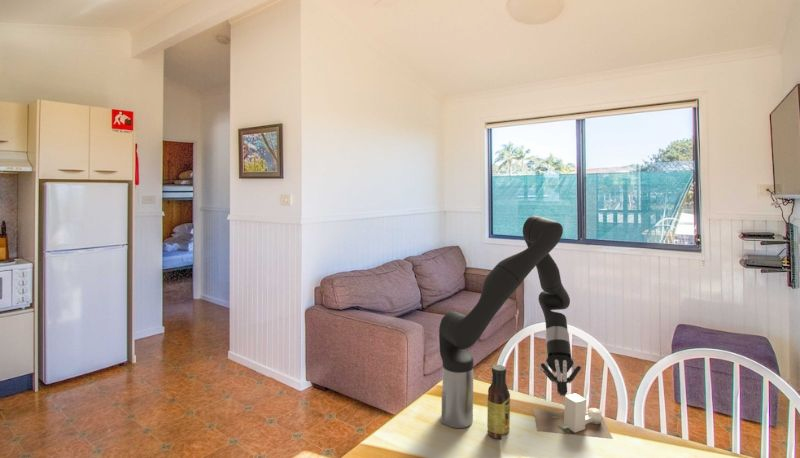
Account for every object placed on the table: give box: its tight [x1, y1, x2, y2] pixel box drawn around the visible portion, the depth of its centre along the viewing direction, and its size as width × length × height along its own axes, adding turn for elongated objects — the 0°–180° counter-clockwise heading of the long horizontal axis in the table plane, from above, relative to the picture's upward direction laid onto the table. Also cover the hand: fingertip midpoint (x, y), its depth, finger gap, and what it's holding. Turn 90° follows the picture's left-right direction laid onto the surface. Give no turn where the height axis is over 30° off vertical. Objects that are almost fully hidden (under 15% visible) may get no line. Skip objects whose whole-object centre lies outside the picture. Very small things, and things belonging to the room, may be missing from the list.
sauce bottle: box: [486, 364, 511, 440], centre depth 124 cm, size 7×6×20 cm
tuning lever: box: [563, 392, 602, 433], centre depth 126 cm, size 14×4×9 cm, turn 115°
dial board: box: [532, 408, 613, 440], centre depth 128 cm, size 20×12×2 cm, turn 79°
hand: (562, 395), depth 136 cm, fingers closed
